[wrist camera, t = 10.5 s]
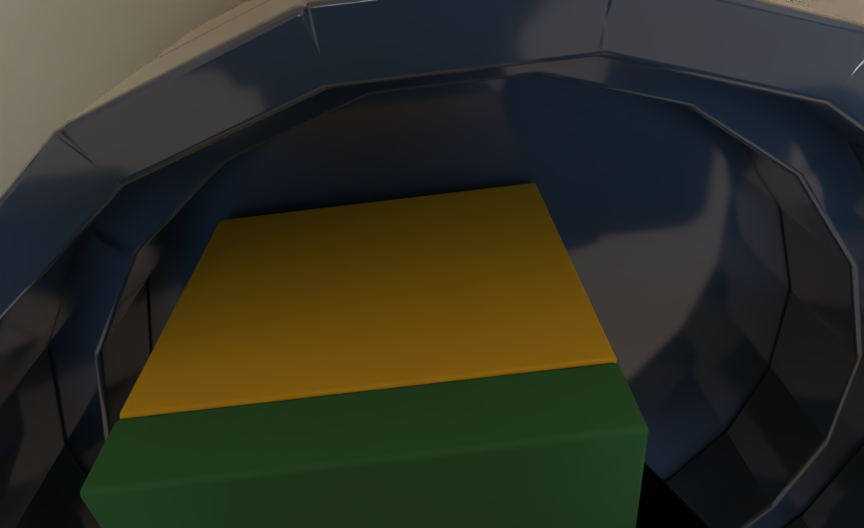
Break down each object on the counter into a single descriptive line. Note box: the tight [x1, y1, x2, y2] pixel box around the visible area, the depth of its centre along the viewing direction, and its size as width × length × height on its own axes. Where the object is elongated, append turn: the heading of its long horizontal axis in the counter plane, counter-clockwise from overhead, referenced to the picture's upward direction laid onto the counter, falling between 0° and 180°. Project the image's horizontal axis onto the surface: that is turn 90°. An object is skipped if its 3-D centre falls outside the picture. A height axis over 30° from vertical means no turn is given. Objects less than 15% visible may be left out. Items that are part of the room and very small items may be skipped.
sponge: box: [80, 183, 649, 528], centre depth 8 cm, size 7×4×4 cm, turn 6°
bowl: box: [0, 0, 864, 528], centre depth 9 cm, size 13×13×4 cm
